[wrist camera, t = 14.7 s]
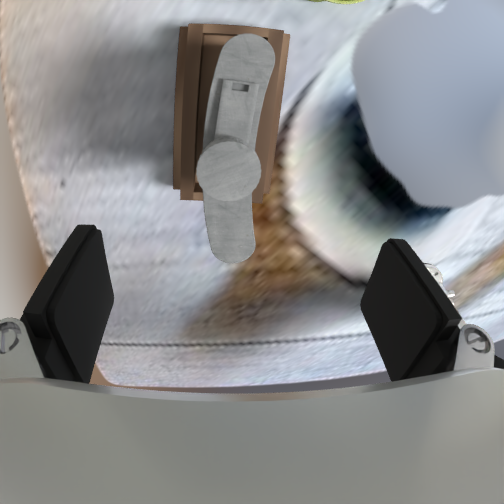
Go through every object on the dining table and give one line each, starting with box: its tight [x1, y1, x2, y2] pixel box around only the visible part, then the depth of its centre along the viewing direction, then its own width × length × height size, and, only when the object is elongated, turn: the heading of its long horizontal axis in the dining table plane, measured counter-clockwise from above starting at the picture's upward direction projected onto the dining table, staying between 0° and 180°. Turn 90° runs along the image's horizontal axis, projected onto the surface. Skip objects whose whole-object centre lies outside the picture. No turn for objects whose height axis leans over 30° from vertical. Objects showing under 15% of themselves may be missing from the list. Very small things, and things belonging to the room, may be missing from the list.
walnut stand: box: [173, 24, 290, 203], centre depth 32 cm, size 12×20×4 cm, turn 174°
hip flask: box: [196, 33, 275, 263], centre depth 25 cm, size 16×4×20 cm, turn 175°
